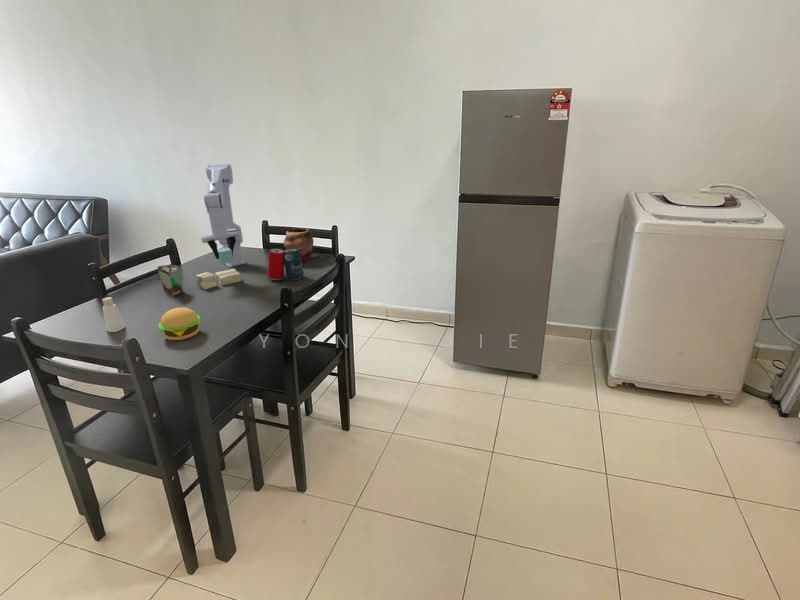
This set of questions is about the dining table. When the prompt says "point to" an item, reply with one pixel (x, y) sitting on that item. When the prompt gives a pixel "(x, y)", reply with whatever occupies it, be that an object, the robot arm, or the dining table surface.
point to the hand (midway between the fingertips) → (224, 256)
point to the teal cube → (225, 255)
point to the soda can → (293, 264)
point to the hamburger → (179, 323)
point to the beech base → (228, 277)
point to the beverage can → (276, 264)
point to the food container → (171, 279)
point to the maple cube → (205, 280)
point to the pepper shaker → (112, 316)
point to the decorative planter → (300, 242)
